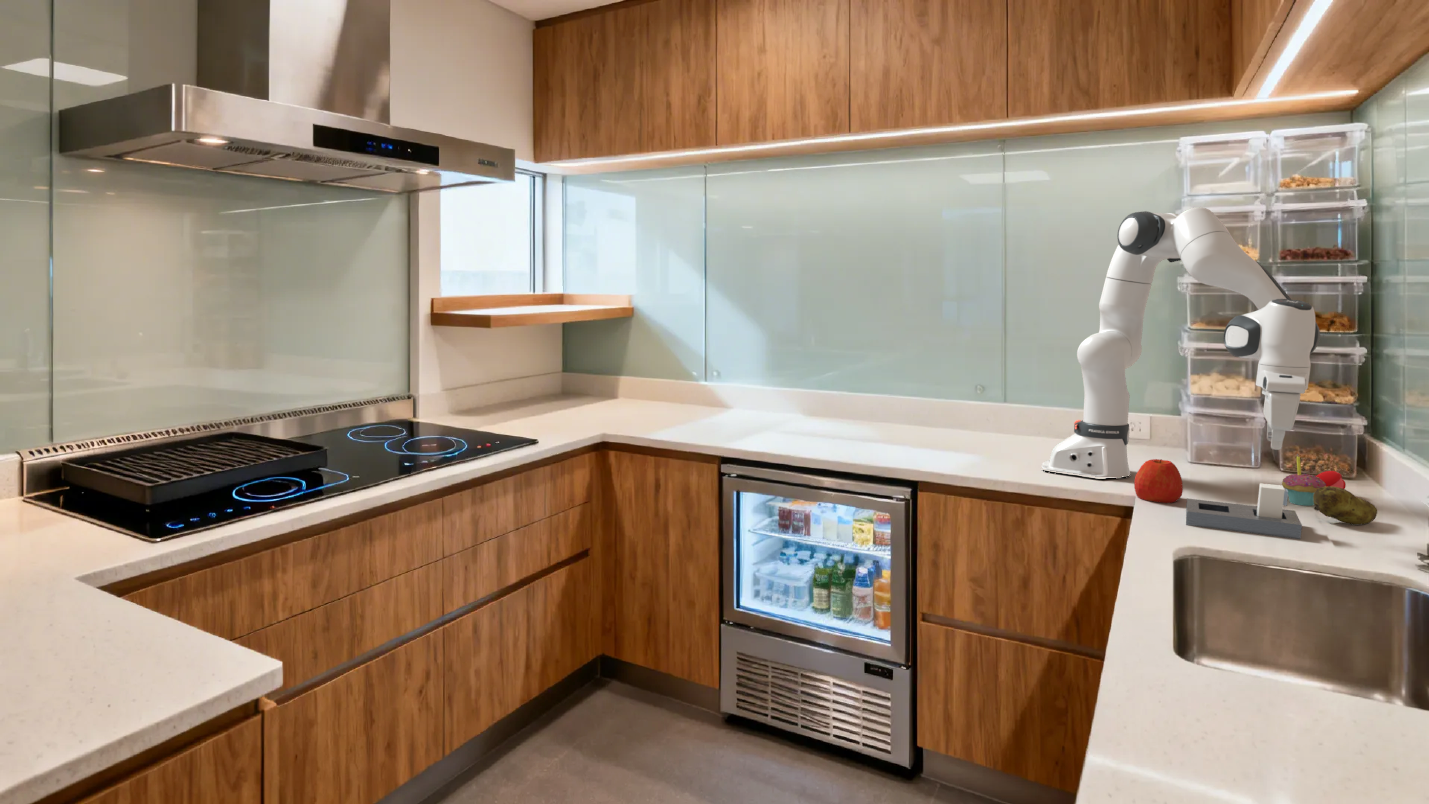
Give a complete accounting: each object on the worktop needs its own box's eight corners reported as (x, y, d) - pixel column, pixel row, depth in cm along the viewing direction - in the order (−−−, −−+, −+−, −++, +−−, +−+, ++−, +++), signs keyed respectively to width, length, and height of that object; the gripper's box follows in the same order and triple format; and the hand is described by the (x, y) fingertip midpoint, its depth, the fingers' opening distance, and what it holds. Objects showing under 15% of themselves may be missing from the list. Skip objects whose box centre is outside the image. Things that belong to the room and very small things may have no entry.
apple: (1140, 506, 190) (1144, 462, 188) (1126, 494, 200) (1130, 453, 198) (1188, 508, 188) (1192, 464, 186) (1171, 496, 198) (1175, 454, 196)
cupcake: (1291, 507, 188) (1297, 457, 187) (1272, 497, 197) (1277, 449, 195) (1332, 508, 187) (1338, 458, 185) (1311, 499, 195) (1316, 450, 194)
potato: (1389, 530, 170) (1393, 494, 169) (1318, 525, 174) (1322, 489, 173) (1369, 519, 178) (1373, 484, 177) (1302, 515, 182) (1306, 480, 181)
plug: (1257, 528, 170) (1261, 487, 168) (1255, 524, 173) (1259, 483, 172) (1284, 532, 168) (1288, 490, 166) (1282, 527, 171) (1286, 485, 170)
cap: (1330, 478, 203) (1310, 466, 203) (1352, 475, 197) (1331, 463, 197) (1320, 505, 201) (1300, 493, 201) (1342, 504, 195) (1321, 491, 195)
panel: (1185, 527, 173) (1187, 511, 172) (1185, 513, 183) (1186, 498, 183) (1300, 542, 163) (1301, 525, 162) (1293, 526, 173) (1294, 510, 173)
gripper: (1260, 372, 176) (1252, 434, 178) (1267, 383, 159) (1259, 451, 161) (1295, 375, 173) (1287, 438, 175) (1306, 386, 156) (1297, 455, 158)
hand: (1273, 444), depth 168 cm, fingers open, 8 cm apart
